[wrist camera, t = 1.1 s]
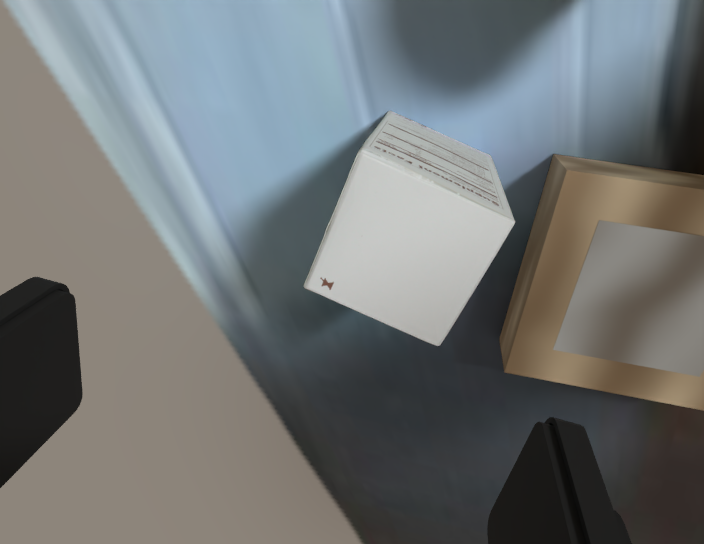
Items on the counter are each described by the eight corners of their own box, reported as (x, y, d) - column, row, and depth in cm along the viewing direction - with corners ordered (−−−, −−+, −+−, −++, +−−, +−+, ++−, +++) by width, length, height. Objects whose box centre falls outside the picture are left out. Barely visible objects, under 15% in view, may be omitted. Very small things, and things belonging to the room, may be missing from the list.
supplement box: (441, 249, 35) (438, 354, 23) (346, 205, 34) (295, 289, 23) (495, 154, 31) (522, 223, 20) (389, 104, 31) (355, 146, 20)
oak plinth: (797, 188, 29) (846, 210, 25) (696, 375, 35) (724, 414, 32) (553, 154, 30) (567, 170, 27) (499, 339, 37) (504, 372, 33)
